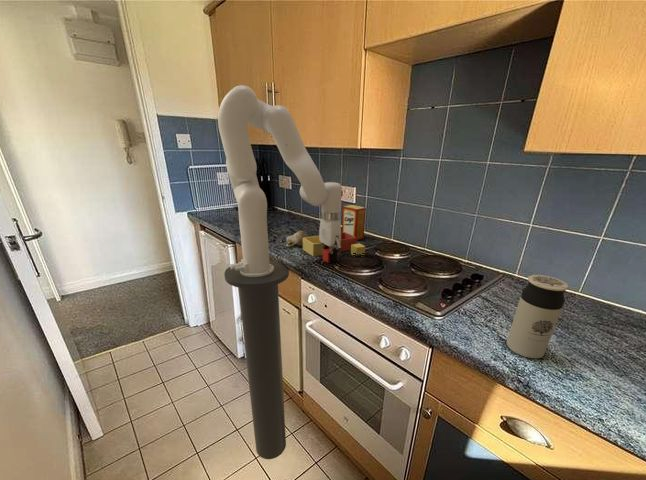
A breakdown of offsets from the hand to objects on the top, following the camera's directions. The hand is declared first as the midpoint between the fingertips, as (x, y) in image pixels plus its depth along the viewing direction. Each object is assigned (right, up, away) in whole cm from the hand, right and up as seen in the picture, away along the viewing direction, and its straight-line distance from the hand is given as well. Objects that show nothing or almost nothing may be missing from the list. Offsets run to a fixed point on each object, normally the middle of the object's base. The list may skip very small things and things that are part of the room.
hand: (329, 259), depth 124 cm
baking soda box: (+11, +13, +31) cm, 35 cm away
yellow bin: (-5, +4, +10) cm, 12 cm away
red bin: (+5, +6, +16) cm, 18 cm away
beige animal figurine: (-16, +7, +17) cm, 24 cm away
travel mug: (+48, -24, -51) cm, 74 cm away
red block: (0, 0, 0) cm, 0 cm away
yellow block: (+12, +2, +7) cm, 14 cm away
